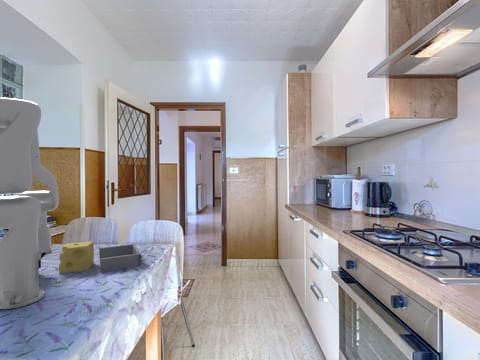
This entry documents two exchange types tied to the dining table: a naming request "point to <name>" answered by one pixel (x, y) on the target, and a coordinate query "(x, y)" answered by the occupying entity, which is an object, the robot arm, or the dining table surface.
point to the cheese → (76, 257)
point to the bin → (119, 257)
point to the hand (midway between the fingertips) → (35, 270)
